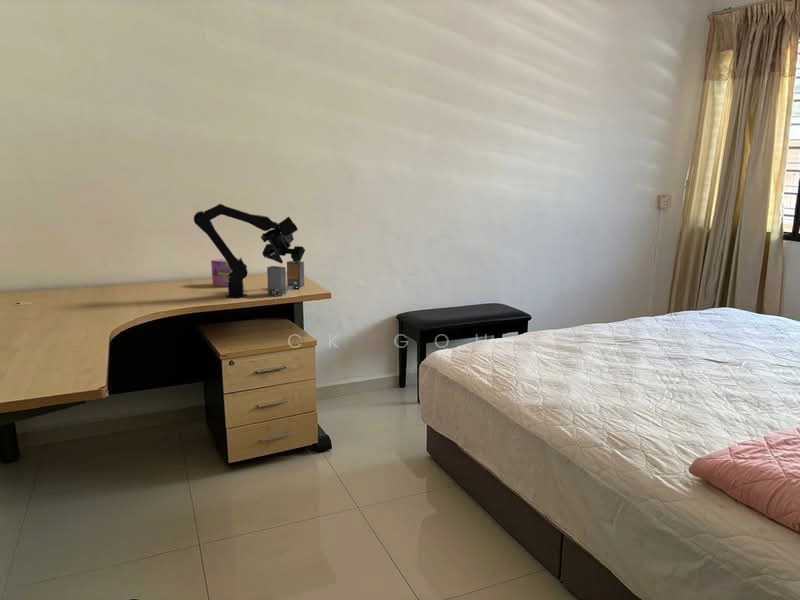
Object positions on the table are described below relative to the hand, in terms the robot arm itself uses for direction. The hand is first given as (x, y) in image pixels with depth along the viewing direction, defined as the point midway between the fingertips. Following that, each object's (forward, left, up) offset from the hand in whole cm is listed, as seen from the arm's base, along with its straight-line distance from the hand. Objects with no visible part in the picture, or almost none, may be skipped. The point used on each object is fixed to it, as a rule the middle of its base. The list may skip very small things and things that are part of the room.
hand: (291, 263), depth 267 cm
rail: (-4, 0, -12) cm, 12 cm away
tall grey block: (-13, 0, -12) cm, 18 cm away
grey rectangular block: (+3, 0, -12) cm, 12 cm away
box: (-5, +32, -12) cm, 34 cm away
